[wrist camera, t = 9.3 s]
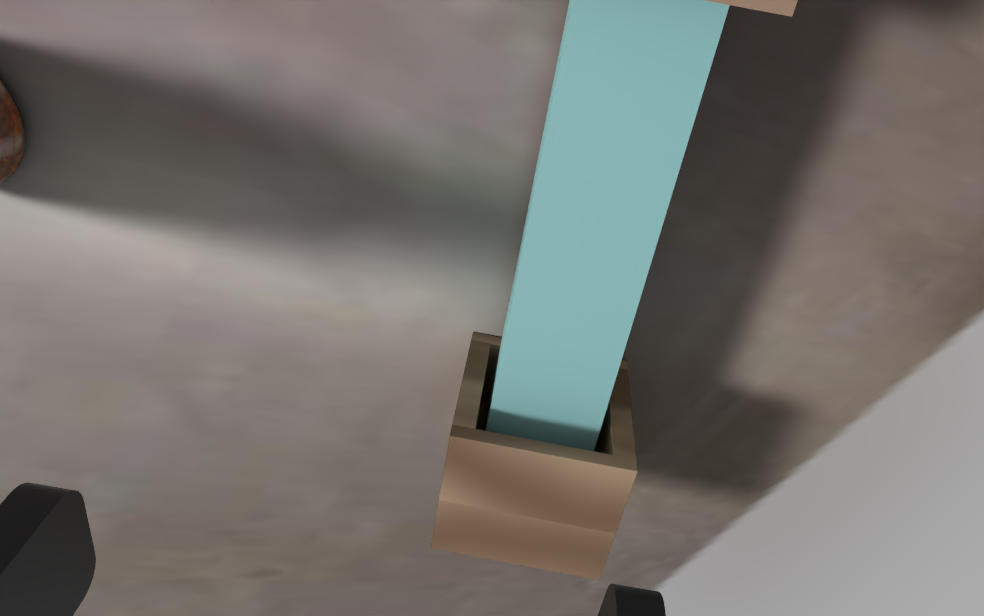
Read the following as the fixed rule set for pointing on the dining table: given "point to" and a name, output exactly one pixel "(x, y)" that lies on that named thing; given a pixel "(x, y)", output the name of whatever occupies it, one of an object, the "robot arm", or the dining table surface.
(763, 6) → the wooden block
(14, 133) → the sauce bottle
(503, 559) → the socket
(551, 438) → the long turquoise beam
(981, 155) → the dining table surface
